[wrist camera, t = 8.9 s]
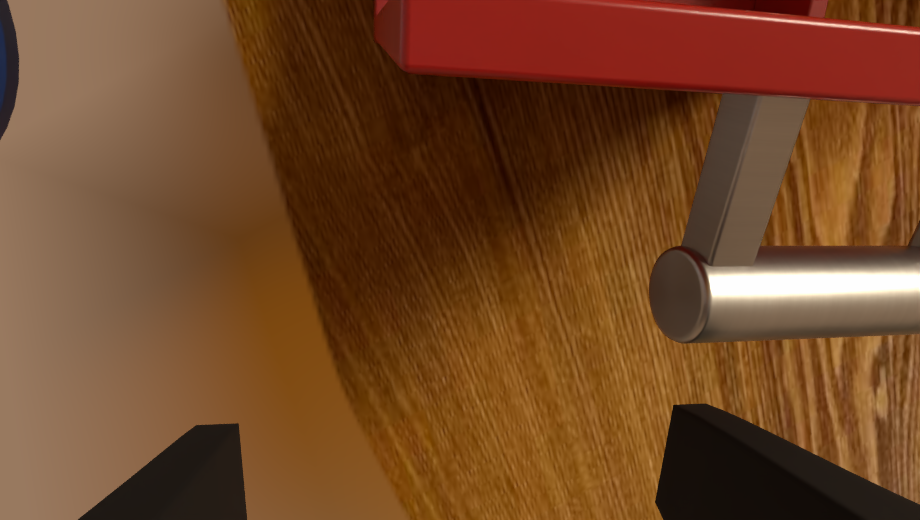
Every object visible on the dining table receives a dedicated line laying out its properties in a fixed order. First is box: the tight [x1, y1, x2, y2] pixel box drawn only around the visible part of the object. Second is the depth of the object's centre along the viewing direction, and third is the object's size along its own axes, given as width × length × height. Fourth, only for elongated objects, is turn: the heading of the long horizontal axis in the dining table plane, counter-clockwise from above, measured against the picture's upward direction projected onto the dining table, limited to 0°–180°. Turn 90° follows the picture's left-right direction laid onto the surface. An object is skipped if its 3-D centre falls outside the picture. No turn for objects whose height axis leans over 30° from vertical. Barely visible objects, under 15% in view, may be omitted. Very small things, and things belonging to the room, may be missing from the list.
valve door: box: [375, 0, 920, 343], centre depth 10 cm, size 10×13×4 cm
